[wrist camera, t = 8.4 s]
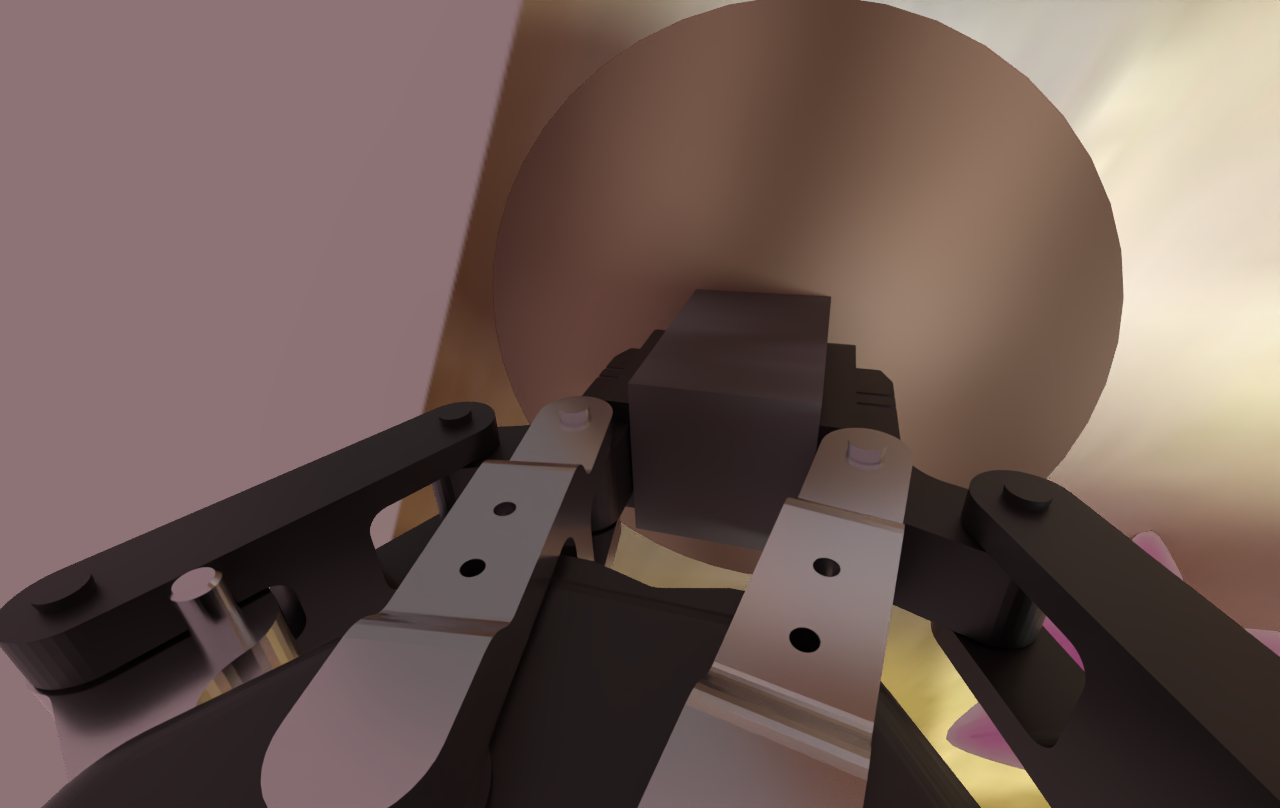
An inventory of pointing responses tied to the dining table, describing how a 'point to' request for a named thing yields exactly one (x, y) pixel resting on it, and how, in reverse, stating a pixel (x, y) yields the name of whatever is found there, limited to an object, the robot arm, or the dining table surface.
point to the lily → (977, 727)
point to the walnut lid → (808, 257)
